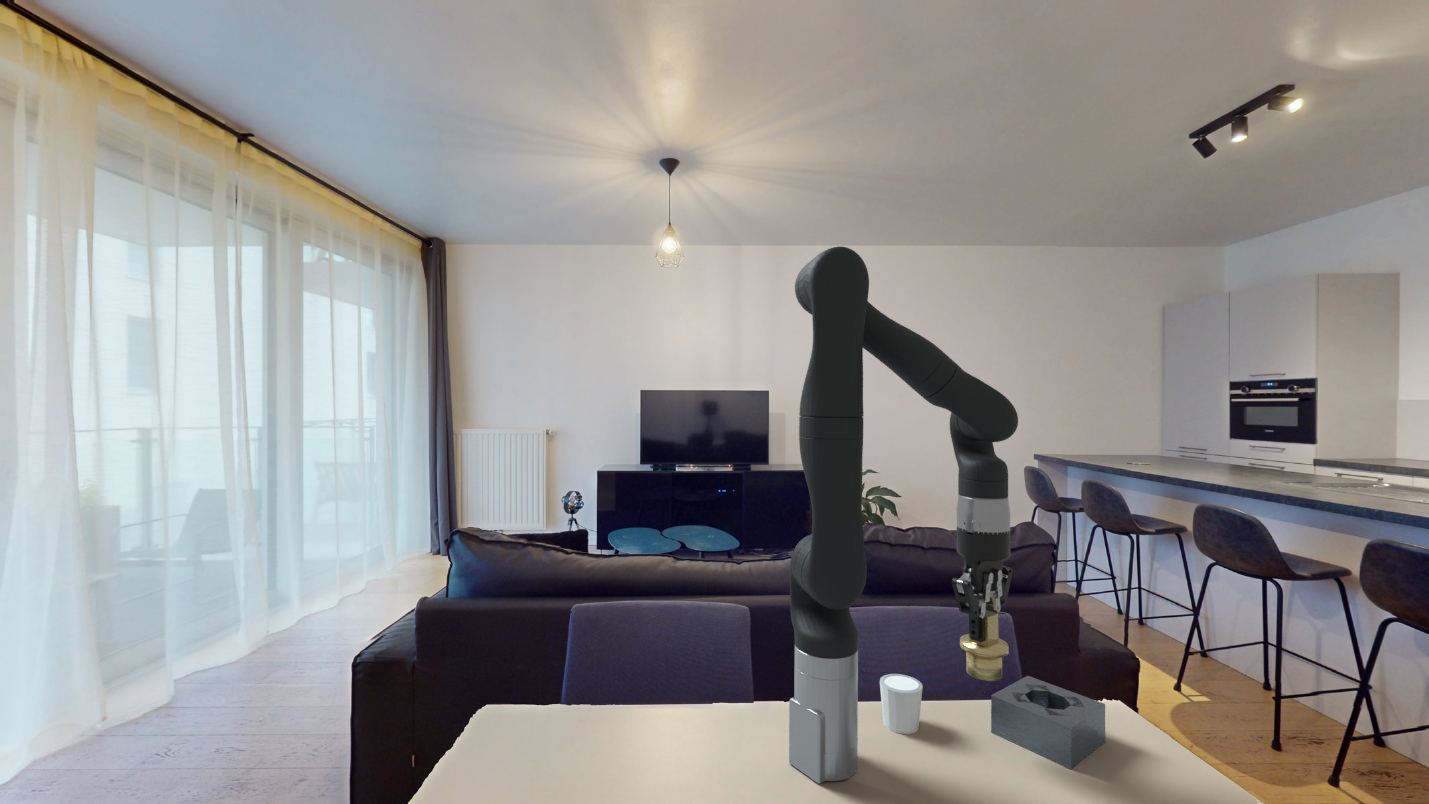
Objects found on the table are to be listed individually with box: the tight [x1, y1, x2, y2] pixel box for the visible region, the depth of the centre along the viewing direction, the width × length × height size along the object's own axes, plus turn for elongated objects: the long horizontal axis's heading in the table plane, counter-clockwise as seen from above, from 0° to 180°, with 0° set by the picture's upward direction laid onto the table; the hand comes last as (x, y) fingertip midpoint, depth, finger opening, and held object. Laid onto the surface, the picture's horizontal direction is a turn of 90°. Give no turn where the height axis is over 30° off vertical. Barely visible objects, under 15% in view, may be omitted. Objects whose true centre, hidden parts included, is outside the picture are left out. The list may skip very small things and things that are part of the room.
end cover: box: [959, 610, 1010, 682], centre depth 90 cm, size 7×7×9 cm
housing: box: [990, 675, 1106, 770], centre depth 94 cm, size 12×12×6 cm
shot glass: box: [879, 673, 924, 735], centre depth 98 cm, size 7×7×7 cm
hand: (983, 637), depth 90 cm, fingers closed on end cover, 3 cm apart
